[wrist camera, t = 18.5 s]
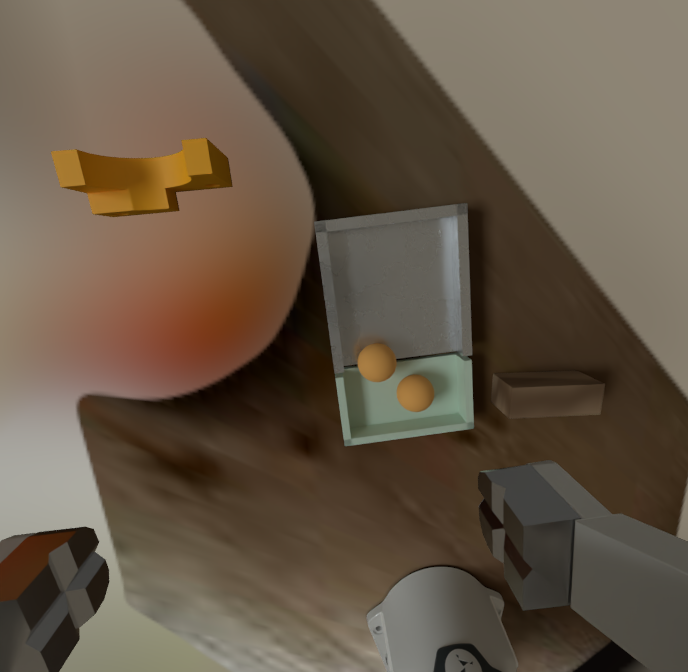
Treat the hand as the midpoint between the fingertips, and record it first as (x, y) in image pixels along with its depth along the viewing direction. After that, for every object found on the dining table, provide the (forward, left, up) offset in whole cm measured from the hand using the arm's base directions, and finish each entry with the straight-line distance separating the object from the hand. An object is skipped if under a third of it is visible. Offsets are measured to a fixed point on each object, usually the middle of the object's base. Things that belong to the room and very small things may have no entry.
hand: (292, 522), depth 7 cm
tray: (-12, -8, -31) cm, 34 cm away
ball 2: (-11, -9, -28) cm, 32 cm away
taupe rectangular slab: (-13, -24, -31) cm, 41 cm away
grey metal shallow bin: (0, -8, -31) cm, 32 cm away
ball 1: (-6, -5, -28) cm, 29 cm away
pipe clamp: (+13, +13, -32) cm, 36 cm away
